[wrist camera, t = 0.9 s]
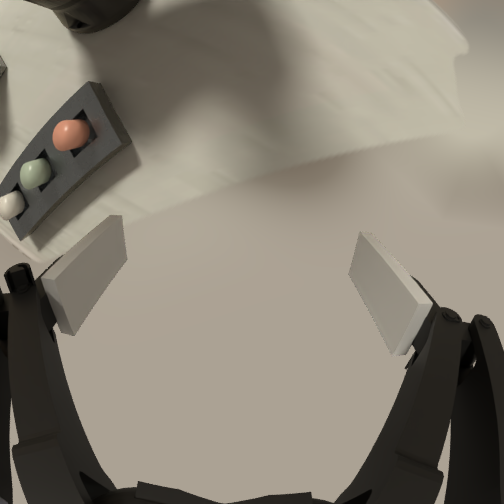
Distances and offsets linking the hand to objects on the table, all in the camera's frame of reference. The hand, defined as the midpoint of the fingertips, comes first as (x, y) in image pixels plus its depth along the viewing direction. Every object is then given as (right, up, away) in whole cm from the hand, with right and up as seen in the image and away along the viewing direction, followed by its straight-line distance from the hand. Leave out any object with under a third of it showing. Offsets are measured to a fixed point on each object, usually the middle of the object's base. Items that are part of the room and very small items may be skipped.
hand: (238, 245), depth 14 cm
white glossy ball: (-39, +8, +18) cm, 43 cm away
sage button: (-31, +12, +16) cm, 36 cm away
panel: (-31, +13, +19) cm, 38 cm away
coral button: (-23, +16, +14) cm, 31 cm away
